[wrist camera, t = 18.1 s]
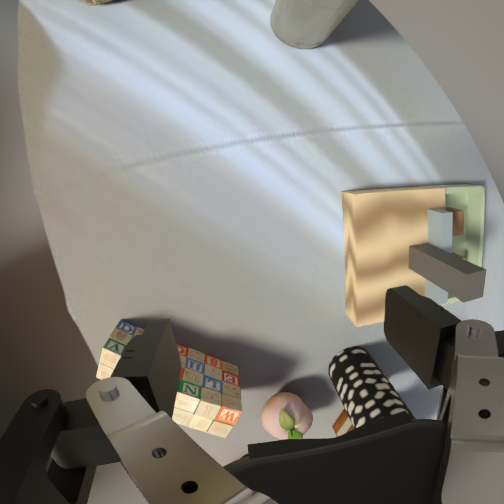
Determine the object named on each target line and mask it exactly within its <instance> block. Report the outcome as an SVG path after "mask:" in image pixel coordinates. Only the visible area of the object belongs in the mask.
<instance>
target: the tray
mask: <svg viewBox="0 0 504 504" xmlns="http://www.w3.org/2000/svg"><path fill="white" fill-rule="evenodd" d="M431 186H434V187H441V188H445V208H449V207H451V208H455V209H459V210H463V211H464V235H457V236H452V252H454V253H456V254H458V255H461V256H463V257H465V258H466V261H469V262H471V263H473V264H475V265H477V266H479V267H481V265H482V253H483V238H484V208H485V195H484V186H480V185H472V184H454V185H431ZM458 301H460V300H459V299H457V298H456V297H454V296H452V295H451V294H449V293H448V300H447V303H444V304H440V306H443V305H447V304H450V303H454V302H458Z"/></svg>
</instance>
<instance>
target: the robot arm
mask: <svg viewBox="0 0 504 504" xmlns="http://www.w3.org/2000/svg"><path fill="white" fill-rule="evenodd" d="M358 1H359V0H276V3H275V6H274V9H273V12H272V15H271V21H270V22H271V27H272V30H273V32H274V33H275V35H276V36H277V37H278V38H279V39H280V40H281V41H282V42H284V43H285V44H287V45H289V46H291V47H295V48H298V49H311V48H315V47H317V46H319V45H321V44H322V43H323V42H325V40H326V39H327V38H328V37H329V36H330V34H331V33H332V32H333V31H334V30H335V28H336V27H337V26H338V25H339V24H340V22H341V21H342V20H343V19H344V18H345V16H346V15H347V14H348V13H349V12H350V11H351V9H352V8H353V7H354V6H355V5H356V4H357V2H358ZM384 333H385V336H386V339H387V341H388V342H389V343H390V344H391V345H392V347H393V348H394V349H395V350H396V351H397V352H398V354H399V355H400V356H401V357H402V358H403V359H404V361H405V362H406V363H407V364H408V365H409V366H410V368H411V369H412V370H413V371H414V372H415V373H416V375H417V376H418V377H419V378H420V379H421V381H422V382H423V383H424V384H425V385H426V387H427V388H428V389H431V388H434V387H436V386H439V385H443V389H442V392H441V397H440V403H439V409H438V415H437V420H432V419H415V420H412V419H411V418H410V416H409V415H408V413H407V412H406V410H405V411H402V412H399V413H396V414H393V415H389V416H386V417H383V418H379V419H376V420H372V421H370V422H368V423H366V424H364V425H362V426H360V427H358V428H355V429H353V430H351V431H349V432H347V433H345V434H343V435H341V436H338V437H336V438H329V439H285V440H279V441H272V442H265V443H257V444H249V445H248V453H249V456H247V457H244V458H241V459H239V460H236V461H234V462H231V463H230V464H228V465H226V466H224V467H222V466H221V465H220V464H219V463H218V462H216V461H215V460H214V459H213V458H212V457H211V456H210V455H209V454H208V453H206V452H205V451H204V450H203V449H202V448H201V447H200V446H199V445H198V444H197V443H196V442H195V441H194V440H193V439H192V438H191V437H189V436H188V435H187V434H186V433H185V432H184V431H183V430H182V429H181V428H180V427H179V426H178V425H177V424H176V423H175V422H174V421H173V420H172V416H173V411H174V406H175V400H176V395H177V390H178V385H179V380H180V375H181V361H180V355H179V351H178V347H177V343H176V339H175V335H174V331H173V327H172V323H171V321H170V320H169V319H165V320H154V321H149V322H148V324H147V326H146V328H145V330H144V332H143V334H142V335H136V336H135V337H134V338H133V339H131V340H130V341H129V342H128V343H127V345H126V347H125V349H124V352H123V353H122V355H121V357H120V359H119V361H118V363H117V365H116V367H115V369H114V370H113V372H112V374H111V376H110V377H109V378H105V379H102V380H100V381H98V382H96V383H94V384H93V385H92V386H91V387H90V388H89V389H88V391H87V393H86V398H84V399H80V400H74V401H69V402H64V401H63V399H62V397H61V395H60V393H59V392H57V391H56V390H52V389H45V390H40V391H37V392H35V393H32V394H31V395H30V396H28V397H27V398H26V399H25V400H24V401H23V403H22V405H21V406H20V408H19V409H18V411H17V412H16V414H15V416H14V417H13V419H12V420H11V422H10V424H9V425H8V427H7V429H6V430H5V432H4V434H3V435H2V437H1V439H0V504H87V502H88V498H89V493H90V490H91V486H92V482H93V478H94V474H95V471H96V467H97V466H98V465H104V464H110V463H115V462H121V464H122V466H123V467H124V469H125V470H126V472H127V474H128V475H129V477H130V478H131V480H132V481H133V482H134V484H135V485H136V487H137V488H138V490H139V491H140V492H141V494H142V495H143V497H144V498H145V499H146V501H147V502H148V504H504V330H503V331H494V329H493V327H492V326H491V325H490V324H488V323H486V322H484V321H481V320H474V319H470V320H464V321H461V320H459V319H458V318H457V317H455V316H454V315H453V314H451V313H450V312H448V311H447V310H444V308H443V307H442V306H440V305H438V304H437V303H436V302H435V301H433V300H432V299H430V298H428V297H425V296H422V295H420V294H418V293H417V292H416V291H414V290H413V289H411V288H410V287H408V286H407V285H404V286H398V287H393V288H389V289H387V291H386V296H385V316H384ZM50 455H51V456H52V458H53V459H52V462H51V464H50V467H49V469H48V472H47V471H46V466H47V462H48V460H49V457H50Z"/></svg>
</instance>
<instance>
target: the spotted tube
mask: <svg viewBox="0 0 504 504" xmlns="http://www.w3.org/2000/svg"><path fill="white" fill-rule="evenodd" d="M328 373H329V376H330V378H331V380H332V382H333V385H334V387H335V389H336V391H337V393H338V395H339V397H340V399H341V401H342V403H343V406H344V408H345V410H346V412H347V414H348V416H349V418H350V420H351V423H352V425H353V427H354V429H355V428H358V427H360V426H362V425H364V424H366V423H368V422H370V421H372V420H376V419H379V418H383V417H386V416H389V415H393V414H396V413H399V412H402V411H405V410H406V412H407V413H408V415H409V416H410V418H411V419H412V420H415V419H416V418H415V417H414V416H413V414H412V413H411V411H410V410H409V408H408V407H407V406H406V404H405V403H404V401H403V400H402V398H401V397H400V396H399V394H398V393H397V391H396V390H395V389H394V387H393V386H392V384H391V383H390V382H389V380H388V379H387V377H386V376H385V375H384V373H383V372H382V370H381V369H380V368H379V366H378V365H377V363H376V362H375V361H374V359H373V358H372V357H371V355H370V354H369V352H368V351H367V350H365V349H364V348H361V347H350V348H347V349H344V350H342V351H341V352H339V353H338V354H337V355H336V356H335V357H334V358H333V359H332V361H331V362H330V365H329V369H328Z"/></svg>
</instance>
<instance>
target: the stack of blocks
mask: <svg viewBox="0 0 504 504" xmlns="http://www.w3.org/2000/svg"><path fill="white" fill-rule="evenodd" d="M143 332H144V329H142V328H139V327H137V326H135V325H132V324H130V323H128V322H126V321H124V320H120V322H119V323H118V325H117V326H116V328H115V329H114V330H113V332H112V333H111V335H110V337H109V339H108V340H107V342H106V344H105V345H104V347H103V350H102V354H101V358H100V363H99V367H98V371H97V376H96V377H97V378H99V379H101V380H102V379H105V378H109V377H110V376H111V374H112V372H113V370H114V369H115V367H116V365H117V363H118V361H119V359H120V357H121V355H122V353H123V352H124V349H125V347H126V345H127V343H128V342H129V341H130V340H131V339H133V338H134V337H135V336H136V335H142V334H143ZM177 347H178V351H179V355H180V361H181V375H180V380H179V385H178V390H177V395H176V400H175V406H174V411H173V416H172V420H173V421H174V422H175V423H178V424H181V425H185V426H188V427H190V428H194V429H197V430H200V431H204V432H207V433H209V434H213V435H216V436H220V437H224V438H226V436H227V435H228V433H229V432H230V430H231V429H232V428H233V425H234V424H235V423H236V421H237V420H238V418H239V416H240V415H241V413H242V406H241V391H240V383H239V370H238V366H236V365H233V364H230V363H228V362H225V361H222V360H221V359H218V358H215V357H212V356H210V355H207V354H204V353H202V352H199V351H197V350H194V349H192V348H187V347H185V346H182V345H180V344H177Z"/></svg>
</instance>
